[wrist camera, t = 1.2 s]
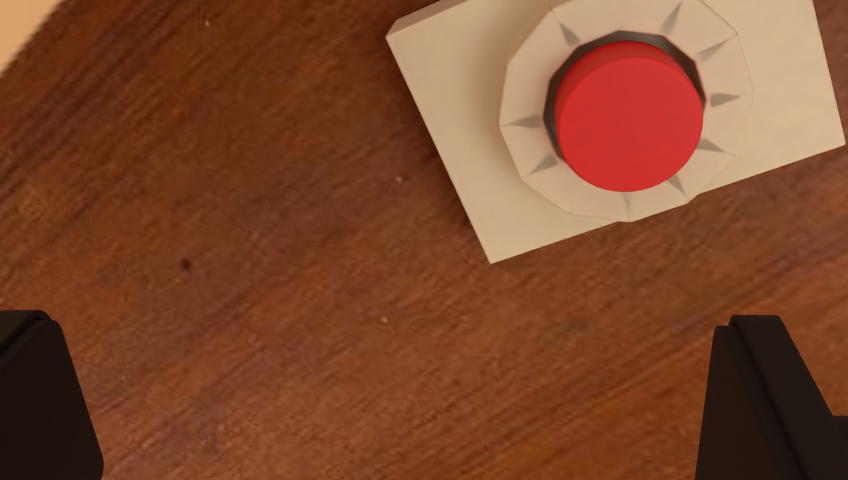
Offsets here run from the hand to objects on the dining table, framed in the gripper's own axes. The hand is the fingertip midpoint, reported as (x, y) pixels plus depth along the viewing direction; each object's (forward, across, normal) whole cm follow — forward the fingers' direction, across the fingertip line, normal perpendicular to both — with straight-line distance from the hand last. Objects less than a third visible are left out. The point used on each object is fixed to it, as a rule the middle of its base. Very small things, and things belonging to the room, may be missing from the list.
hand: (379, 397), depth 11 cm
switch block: (+16, -5, 0) cm, 16 cm away
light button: (+12, -5, 0) cm, 13 cm away
